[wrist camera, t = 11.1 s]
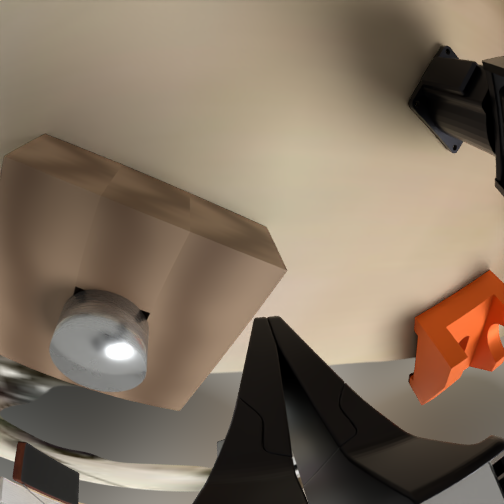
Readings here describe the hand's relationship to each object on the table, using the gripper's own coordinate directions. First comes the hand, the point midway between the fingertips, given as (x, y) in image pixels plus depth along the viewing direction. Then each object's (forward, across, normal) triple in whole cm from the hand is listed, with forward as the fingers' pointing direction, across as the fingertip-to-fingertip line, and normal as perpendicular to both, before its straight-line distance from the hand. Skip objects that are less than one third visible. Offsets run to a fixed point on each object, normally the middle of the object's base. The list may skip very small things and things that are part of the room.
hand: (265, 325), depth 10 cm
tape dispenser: (+12, -30, +20) cm, 38 cm away
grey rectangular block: (+8, +80, +109) cm, 135 cm away
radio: (+10, +37, +52) cm, 64 cm away
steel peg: (+10, +8, +6) cm, 15 cm away
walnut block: (+11, +8, +6) cm, 15 cm away
